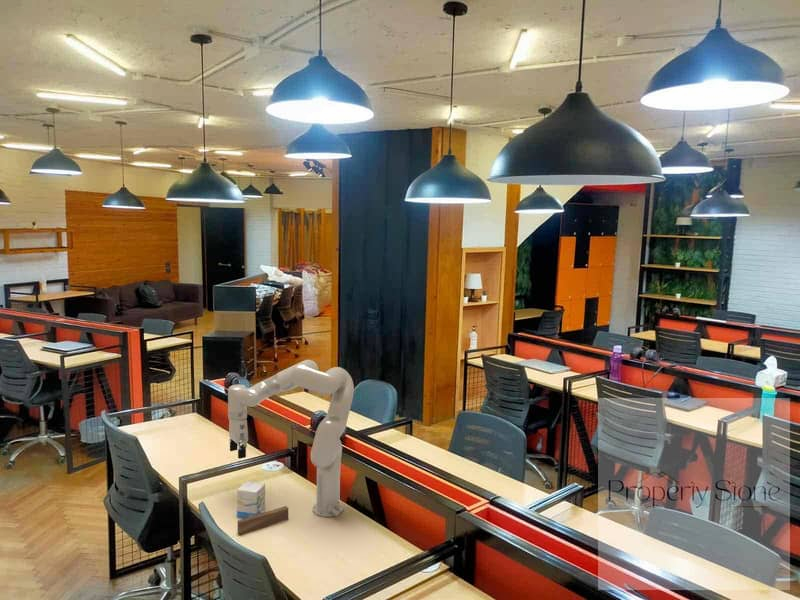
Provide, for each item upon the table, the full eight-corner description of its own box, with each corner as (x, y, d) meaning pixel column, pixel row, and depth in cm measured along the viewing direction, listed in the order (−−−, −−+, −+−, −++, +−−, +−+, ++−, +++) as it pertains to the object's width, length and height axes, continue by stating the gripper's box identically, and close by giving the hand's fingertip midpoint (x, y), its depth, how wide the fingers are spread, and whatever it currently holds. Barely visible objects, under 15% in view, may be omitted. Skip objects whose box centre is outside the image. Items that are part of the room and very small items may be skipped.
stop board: (288, 519, 217) (288, 507, 217) (239, 535, 205) (239, 522, 204) (286, 517, 219) (286, 505, 218) (237, 533, 206) (237, 520, 206)
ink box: (256, 520, 216) (256, 492, 215) (236, 517, 218) (236, 489, 217) (265, 509, 225) (265, 482, 223) (246, 507, 226) (246, 480, 225)
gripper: (254, 418, 223) (254, 459, 225) (238, 407, 237) (238, 445, 239) (236, 422, 219) (236, 463, 221) (221, 410, 232) (221, 449, 234)
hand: (237, 454), depth 230 cm, fingers open, 8 cm apart
